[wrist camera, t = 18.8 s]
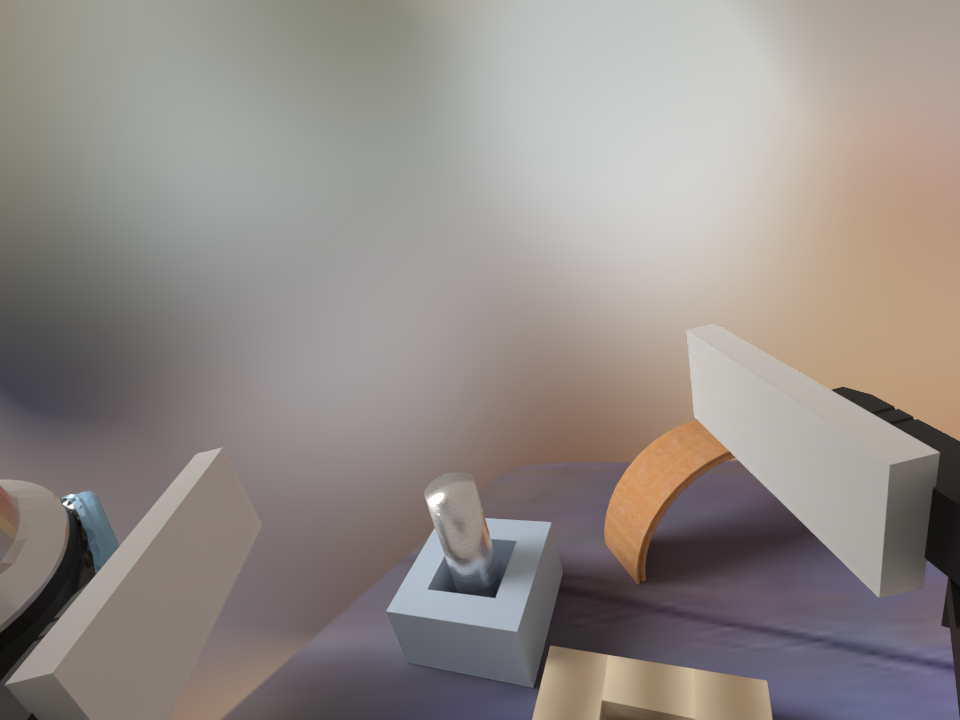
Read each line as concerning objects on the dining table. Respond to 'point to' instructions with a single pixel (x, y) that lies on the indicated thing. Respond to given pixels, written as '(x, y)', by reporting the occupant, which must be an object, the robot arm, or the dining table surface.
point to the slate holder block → (482, 607)
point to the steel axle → (464, 534)
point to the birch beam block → (643, 691)
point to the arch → (656, 490)
